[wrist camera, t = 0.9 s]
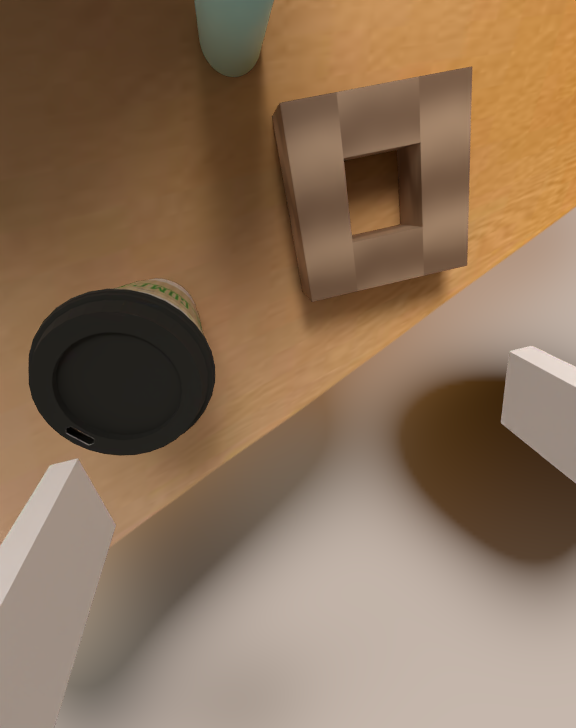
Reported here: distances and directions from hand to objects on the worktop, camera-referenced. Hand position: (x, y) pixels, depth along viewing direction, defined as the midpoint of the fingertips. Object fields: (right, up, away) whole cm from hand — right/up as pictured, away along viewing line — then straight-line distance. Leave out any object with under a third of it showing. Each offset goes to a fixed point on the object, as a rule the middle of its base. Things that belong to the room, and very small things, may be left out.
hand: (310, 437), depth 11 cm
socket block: (+6, +17, +20) cm, 27 cm away
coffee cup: (-12, +7, +22) cm, 26 cm away
